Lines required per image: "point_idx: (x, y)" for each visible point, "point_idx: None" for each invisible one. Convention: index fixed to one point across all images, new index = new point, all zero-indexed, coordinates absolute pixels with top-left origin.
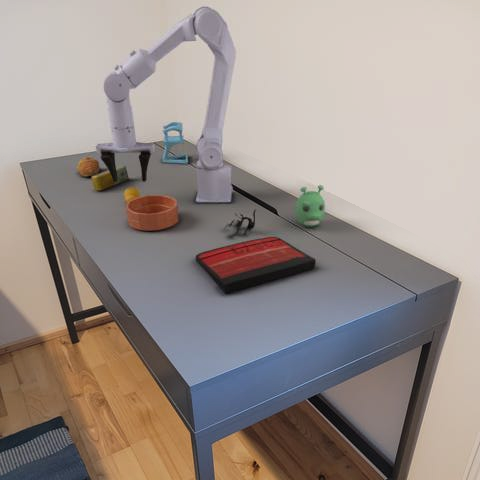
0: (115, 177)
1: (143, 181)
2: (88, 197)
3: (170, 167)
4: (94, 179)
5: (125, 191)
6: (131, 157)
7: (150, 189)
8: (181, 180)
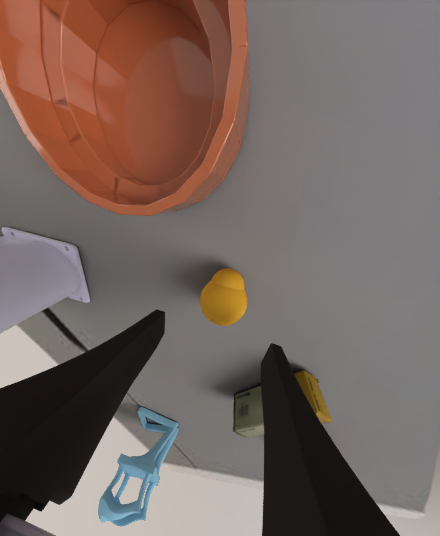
0: (272, 361)
1: (161, 311)
2: (341, 351)
3: (164, 405)
4: (323, 408)
5: (240, 309)
6: (227, 452)
7: (190, 343)
8: None
